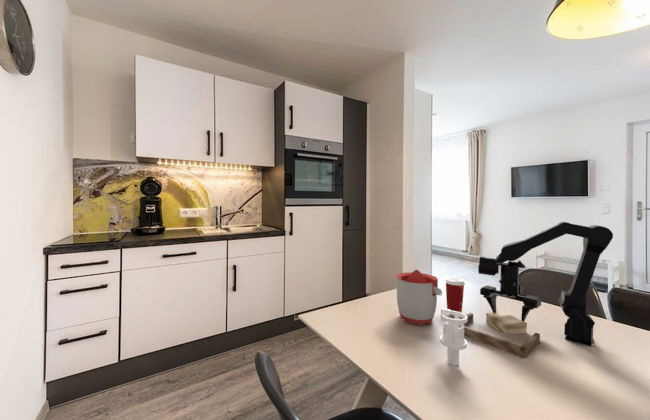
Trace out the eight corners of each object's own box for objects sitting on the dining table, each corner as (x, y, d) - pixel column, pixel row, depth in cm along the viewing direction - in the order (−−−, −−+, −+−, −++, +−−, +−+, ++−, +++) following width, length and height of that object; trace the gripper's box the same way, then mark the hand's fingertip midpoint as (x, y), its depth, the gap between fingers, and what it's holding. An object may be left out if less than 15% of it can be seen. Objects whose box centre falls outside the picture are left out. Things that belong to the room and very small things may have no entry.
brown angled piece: (539, 342, 91) (539, 333, 91) (524, 358, 82) (524, 348, 81) (470, 320, 109) (470, 312, 108) (450, 331, 99) (451, 322, 99)
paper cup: (468, 316, 113) (468, 282, 112) (449, 315, 113) (449, 282, 112) (459, 308, 120) (459, 277, 120) (441, 308, 121) (441, 277, 120)
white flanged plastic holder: (443, 352, 84) (444, 304, 84) (469, 361, 80) (470, 310, 80) (436, 363, 79) (437, 311, 79) (463, 372, 75) (464, 318, 74)
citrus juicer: (435, 333, 97) (436, 277, 97) (389, 320, 108) (390, 270, 107) (446, 319, 110) (447, 269, 109) (404, 308, 120) (404, 263, 120)
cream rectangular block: (526, 334, 98) (526, 322, 98) (506, 335, 97) (506, 324, 97) (504, 322, 108) (504, 312, 108) (486, 323, 107) (486, 313, 107)
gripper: (546, 279, 101) (545, 321, 102) (491, 269, 116) (490, 306, 117) (537, 285, 95) (535, 329, 95) (479, 273, 109) (478, 312, 110)
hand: (508, 318), depth 104 cm, fingers open, 9 cm apart
